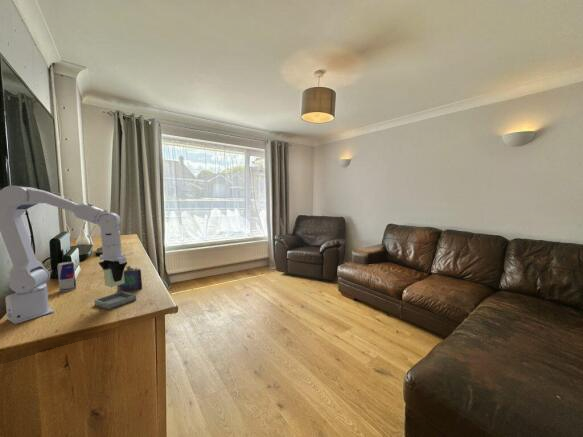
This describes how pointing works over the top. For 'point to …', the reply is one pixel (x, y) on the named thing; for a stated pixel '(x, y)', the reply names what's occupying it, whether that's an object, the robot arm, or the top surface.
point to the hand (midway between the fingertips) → (114, 279)
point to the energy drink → (66, 276)
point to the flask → (131, 280)
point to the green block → (109, 278)
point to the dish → (115, 300)
